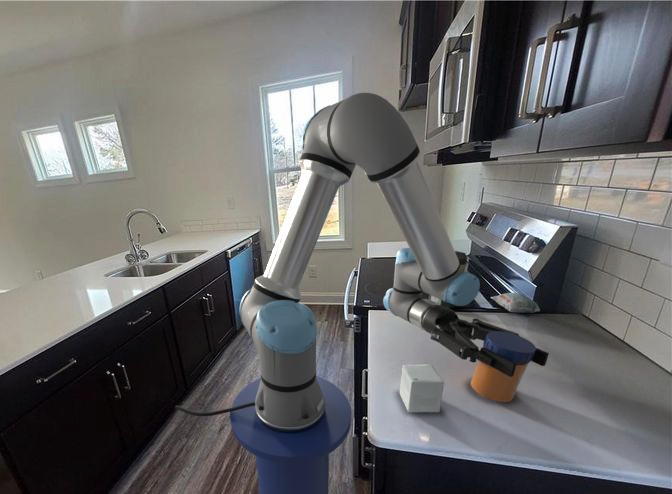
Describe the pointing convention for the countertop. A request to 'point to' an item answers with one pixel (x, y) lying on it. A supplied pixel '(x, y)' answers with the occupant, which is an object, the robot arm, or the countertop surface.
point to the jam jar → (496, 382)
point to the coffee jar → (463, 261)
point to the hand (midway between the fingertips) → (529, 364)
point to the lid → (510, 346)
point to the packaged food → (516, 303)
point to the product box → (421, 388)
